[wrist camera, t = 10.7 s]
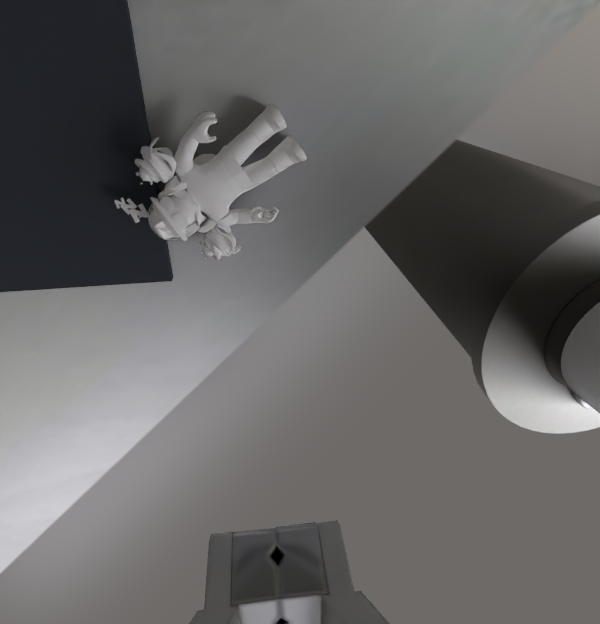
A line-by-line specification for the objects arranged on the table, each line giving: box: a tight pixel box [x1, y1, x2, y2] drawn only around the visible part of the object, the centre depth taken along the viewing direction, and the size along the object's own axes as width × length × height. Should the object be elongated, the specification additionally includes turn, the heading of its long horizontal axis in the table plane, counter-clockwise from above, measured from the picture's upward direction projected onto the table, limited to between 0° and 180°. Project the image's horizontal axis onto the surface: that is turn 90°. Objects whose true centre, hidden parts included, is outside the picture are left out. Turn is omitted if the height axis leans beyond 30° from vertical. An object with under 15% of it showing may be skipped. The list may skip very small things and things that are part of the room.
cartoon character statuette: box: [114, 104, 307, 260], centre depth 29 cm, size 9×4×12 cm
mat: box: [0, 0, 173, 292], centre depth 29 cm, size 16×18×1 cm
